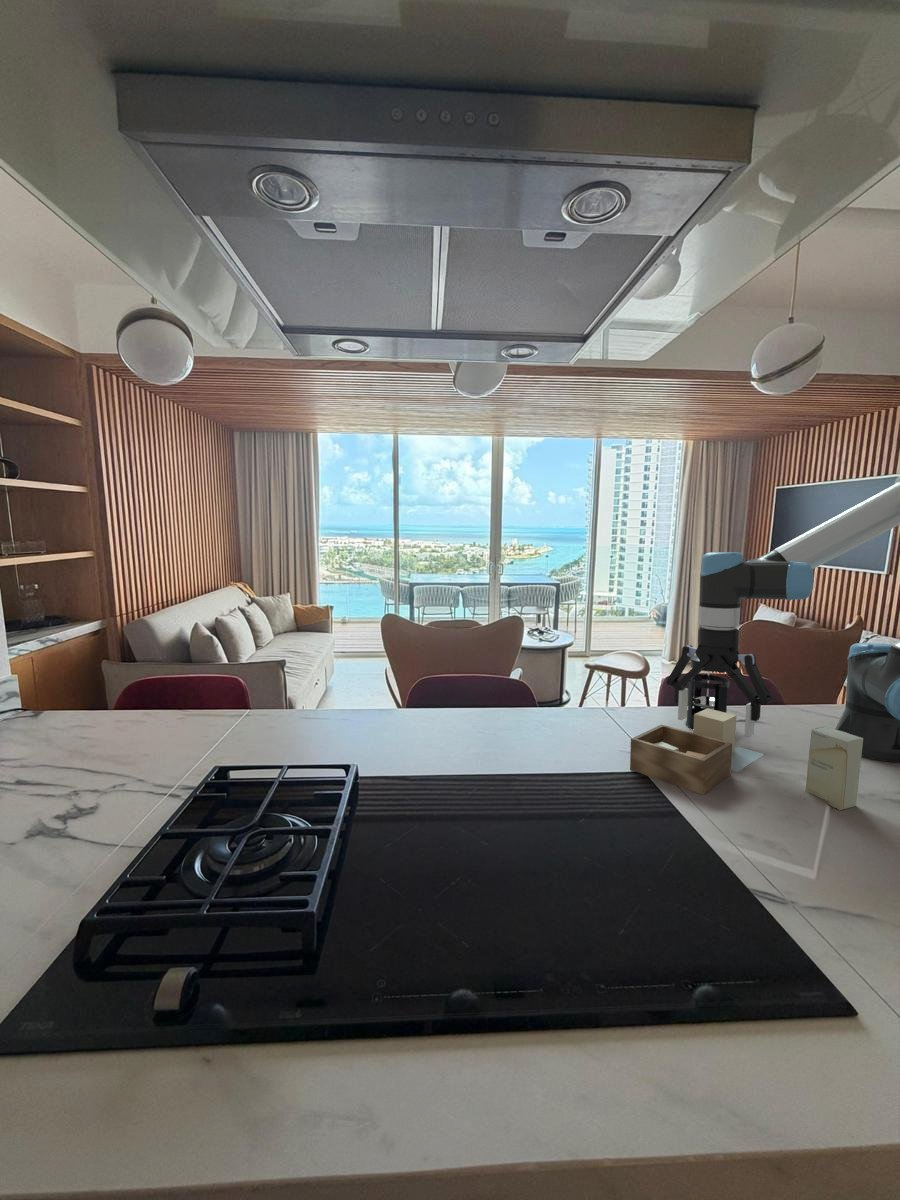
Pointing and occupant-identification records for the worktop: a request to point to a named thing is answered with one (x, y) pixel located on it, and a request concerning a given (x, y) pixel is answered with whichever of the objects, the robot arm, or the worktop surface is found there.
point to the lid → (724, 735)
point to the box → (681, 758)
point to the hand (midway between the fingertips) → (714, 726)
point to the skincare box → (834, 766)
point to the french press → (706, 701)
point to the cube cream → (666, 746)
